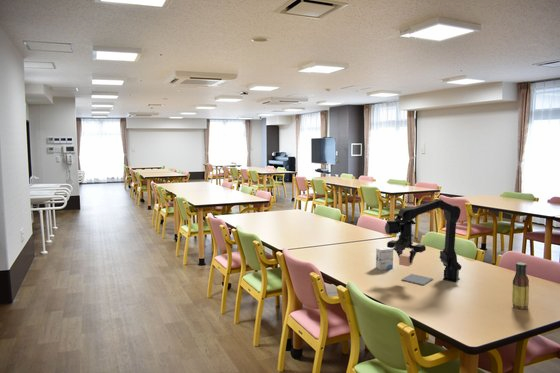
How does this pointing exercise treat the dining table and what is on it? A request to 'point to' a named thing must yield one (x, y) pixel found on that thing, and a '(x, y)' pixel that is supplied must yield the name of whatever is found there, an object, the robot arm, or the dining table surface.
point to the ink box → (384, 258)
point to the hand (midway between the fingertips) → (405, 262)
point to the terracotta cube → (405, 259)
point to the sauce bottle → (520, 287)
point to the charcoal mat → (417, 279)
